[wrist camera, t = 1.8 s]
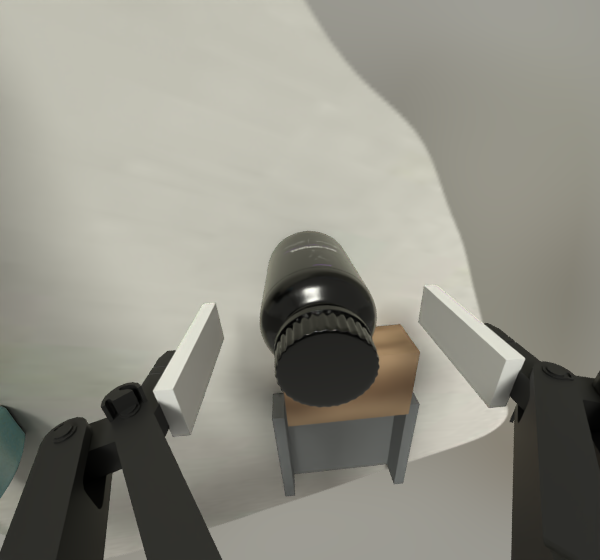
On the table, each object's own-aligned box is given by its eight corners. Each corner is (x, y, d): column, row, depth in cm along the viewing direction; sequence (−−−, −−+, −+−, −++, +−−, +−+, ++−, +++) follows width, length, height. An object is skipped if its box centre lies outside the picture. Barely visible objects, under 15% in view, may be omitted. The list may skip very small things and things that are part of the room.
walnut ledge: (280, 335, 25) (280, 365, 22) (400, 324, 25) (419, 352, 22) (287, 392, 29) (288, 426, 25) (392, 382, 29) (408, 414, 25)
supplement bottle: (318, 211, 20) (360, 275, 9) (360, 274, 23) (430, 380, 12) (250, 259, 22) (219, 363, 11) (297, 314, 24) (309, 441, 13)
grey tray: (273, 394, 29) (272, 418, 26) (406, 380, 29) (419, 403, 26) (285, 470, 35) (285, 496, 32) (393, 458, 36) (403, 483, 33)
